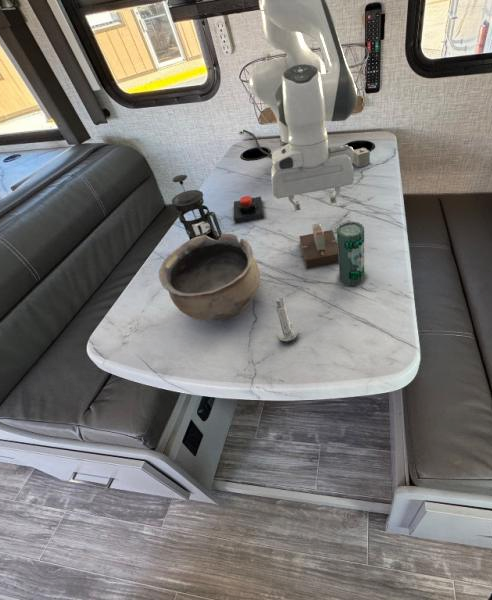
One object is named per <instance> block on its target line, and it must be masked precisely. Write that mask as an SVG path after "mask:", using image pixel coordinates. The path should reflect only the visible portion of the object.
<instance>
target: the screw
mask: <svg viewBox="0 0 492 600" xmlns="http://www.w3.org/2000/svg"><path fill="white" fill-rule="evenodd" d="M275 301H276V302H275V303H276V311H277V315H278V319H279V322H280V326H279V327H278V328H277V329H276V337H277V339H279V341H282V342H286V343H291V342H292V341H293V340H294V339H296V337H297V336H298V334H299V329H298V327H297V326H296V325H295V324H293V323H290V320H289V316H288V312H287V308H286V305H285V304H284V300H283V298H282V297H281V296H278V297H277V298H276V299H275Z"/></svg>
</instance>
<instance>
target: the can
mask: <svg viewBox="0 0 492 600" xmlns="http://www.w3.org/2000/svg"><path fill="white" fill-rule="evenodd" d="M336 240H337V243H338V258H339V262H338V270H339V271H338V273H339V280H340V282H341V283H343V284H344V285H347V286H355V285H357V284H358V285H359V284H360V283H362V282H363V280H364V279H365V226H364V225H363V224H362V223H360V222H358V221H347V222H346V221H345V222H342V224H339V225H338V227H337V228H336Z"/></svg>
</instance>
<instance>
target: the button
mask: <svg viewBox="0 0 492 600" xmlns="http://www.w3.org/2000/svg"><path fill="white" fill-rule="evenodd" d="M251 198H252V196H250V195H244V196H242V197H240V199H239V200H240V202H241V205H242V206H247V205H250V204H252V199H251Z"/></svg>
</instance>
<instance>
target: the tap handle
mask: <svg viewBox="0 0 492 600" xmlns="http://www.w3.org/2000/svg"><path fill="white" fill-rule="evenodd" d="M311 225H312V234H313V235H314V241H315V244H316V247H317V250H318V251H320V250H325V241H324V234H323V231H324V230H323V228H322V226H321V223H320V222H317V223H313V224H311Z"/></svg>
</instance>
